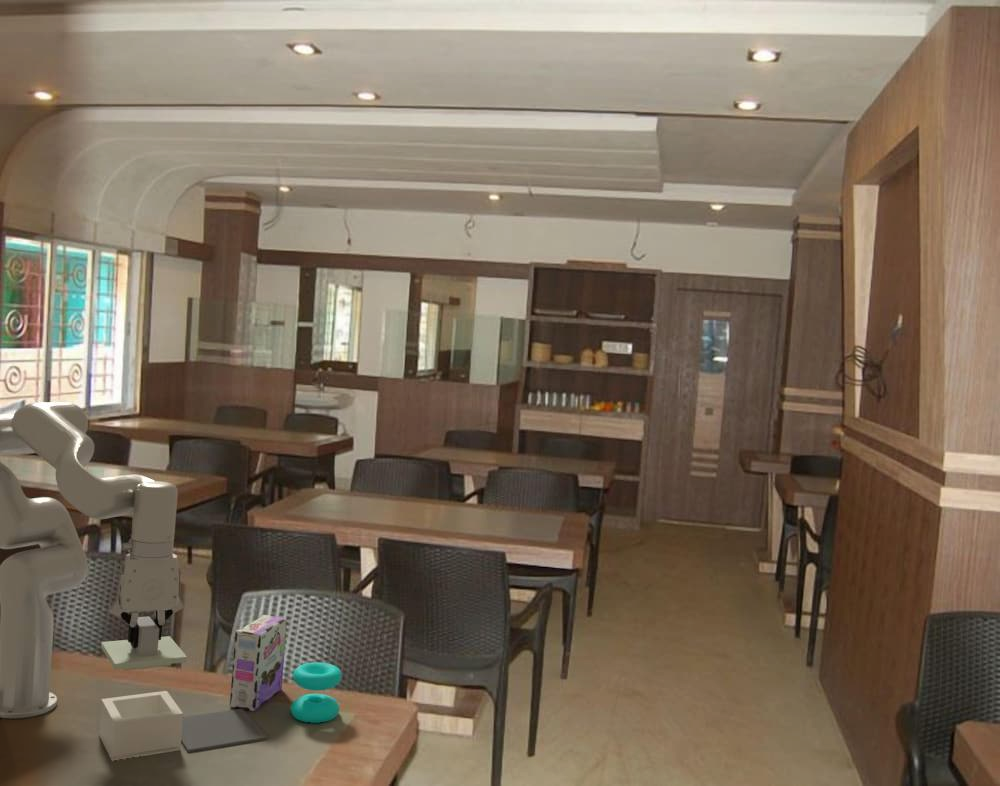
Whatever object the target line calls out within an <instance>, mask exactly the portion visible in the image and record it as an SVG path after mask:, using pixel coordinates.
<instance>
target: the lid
mask: <svg viewBox="0 0 1000 786" xmlns="http://www.w3.org/2000/svg"><path fill="white" fill-rule="evenodd" d="M153 621H154V619H152V618H151V617H150V616H149V615H148V616H138V620H137V623H138V627H139V635H138V646H137V648H133V647H132V645H131V644H130V643H129V642H128V639H123V640H109V641H100V642H101V643H100V648H101V650H102V651H103V653H104V655H105V656H106V658H107V659H108V661H109V663H110V664H111V667H113V669H114V670H122V669H123V671H133V670H141V669H142V670H144V669H151V668H153V669H154V668H162V667H163V668H165V667H171V666H172V664H181V663H187V661H188V656H187V655H186V653H185V652H184V651H183V650H182V649H181V648H180V647H179V646H178V644H177V643H176V642H175V641H174V639H173V638H172V637H171V636H170V635H168V636H161V640H159V628H158V627H157V625H156V624H155V623H154V622H153Z"/></svg>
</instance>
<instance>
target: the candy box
mask: <svg viewBox="0 0 1000 786" xmlns="http://www.w3.org/2000/svg"><path fill="white" fill-rule="evenodd" d="M287 620H288V618H287V617H283V616H275V615H268V614H263V615H262V616H260V617H259V618H256V619H255V620H253V621H251V622H250V623H248V624H246V625H245V626H243V627H241V628H239V629H237V630H235V633H234V634H235V636H234V647H233V659H232V671H231V672H232V673H231V685H230V696H229V697H230V698H229V699H230V700H229V707H230V708H234V709H243V710H244V711H245V710H247V711H250V712H255V711H257V710H258V709H259V708H260V707H261V706H263V705H264V704H265V703H267V702H268V701H269V700H270V699H271V698H273V697H274V696H275V695H277V693H279V692H280V691H281V690H282V689H283V675H284V662H285V650H286V649H285V647H286V635H287V622H288V621H287Z"/></svg>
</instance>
